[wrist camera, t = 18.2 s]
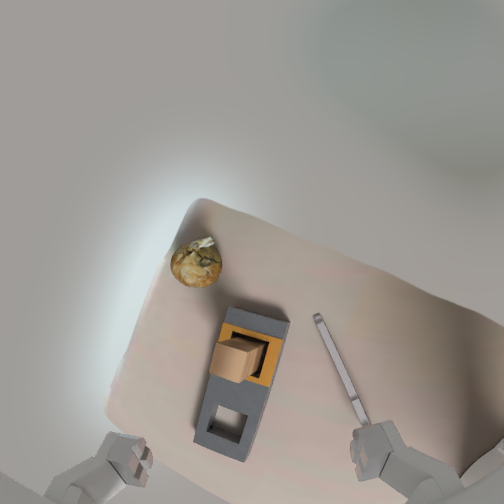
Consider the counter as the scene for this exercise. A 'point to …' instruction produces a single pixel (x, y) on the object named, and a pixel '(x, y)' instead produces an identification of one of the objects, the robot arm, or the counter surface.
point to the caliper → (342, 372)
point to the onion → (197, 263)
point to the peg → (237, 358)
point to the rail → (241, 385)
